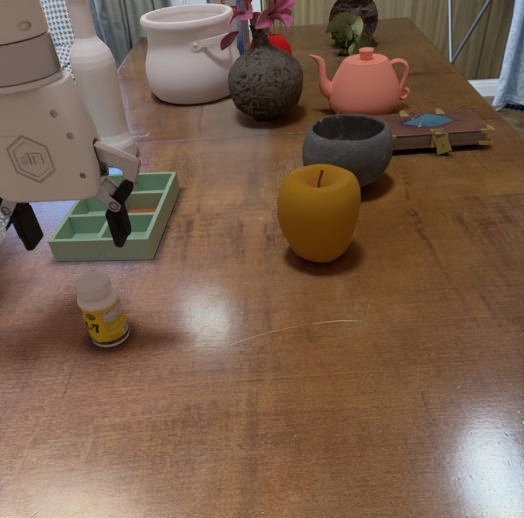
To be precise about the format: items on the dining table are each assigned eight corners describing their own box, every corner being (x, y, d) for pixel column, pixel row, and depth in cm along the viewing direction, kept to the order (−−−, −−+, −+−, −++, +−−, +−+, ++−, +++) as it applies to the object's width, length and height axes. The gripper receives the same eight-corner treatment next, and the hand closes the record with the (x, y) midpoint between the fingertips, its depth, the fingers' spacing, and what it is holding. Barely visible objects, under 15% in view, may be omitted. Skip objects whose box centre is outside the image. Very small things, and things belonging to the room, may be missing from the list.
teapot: (310, 126, 109) (310, 62, 100) (308, 102, 120) (308, 42, 111) (413, 121, 107) (422, 55, 98) (402, 97, 118) (409, 36, 110)
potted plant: (328, 45, 163) (320, 66, 137) (332, -13, 154) (324, -3, 127) (377, 46, 162) (378, 68, 135) (384, -12, 152) (387, -1, 125)
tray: (55, 261, 76) (47, 241, 74) (99, 192, 92) (93, 174, 90) (153, 259, 75) (147, 238, 72) (179, 190, 91) (176, 171, 88)
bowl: (284, 186, 89) (282, 128, 82) (343, 159, 96) (345, 103, 89) (346, 214, 81) (349, 152, 74) (406, 183, 87) (414, 123, 80)
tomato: (282, 82, 132) (280, 37, 125) (241, 78, 138) (238, 34, 131) (302, 70, 139) (301, 27, 132) (263, 66, 144) (260, 24, 137)
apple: (275, 275, 70) (270, 188, 61) (285, 234, 77) (281, 151, 69) (355, 278, 68) (362, 189, 59) (357, 236, 76) (363, 151, 67)
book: (347, 134, 107) (348, 108, 103) (466, 125, 106) (470, 99, 102) (359, 162, 94) (361, 134, 91) (493, 153, 93) (500, 124, 90)
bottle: (126, 147, 107) (82, -27, 86) (145, 158, 102) (103, -24, 82) (91, 159, 104) (37, -19, 83) (110, 171, 99) (57, -16, 78)
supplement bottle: (85, 336, 63) (62, 281, 57) (117, 318, 65) (98, 263, 59) (105, 354, 60) (83, 299, 55) (137, 334, 63) (120, 279, 57)
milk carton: (213, 61, 152) (203, -20, 138) (220, 56, 156) (211, -24, 142) (244, 62, 149) (237, -21, 135) (251, 56, 153) (245, -25, 140)
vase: (306, 128, 108) (304, -49, 88) (225, 134, 109) (205, -40, 88) (301, 102, 120) (299, -59, 100) (228, 107, 121) (211, -51, 100)
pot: (131, 95, 133) (113, 17, 121) (202, 72, 144) (192, -2, 132) (191, 116, 119) (177, 29, 107) (265, 88, 130) (260, 7, 118)
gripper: (-112, 83, 40) (-14, 264, 52) (98, 68, 38) (150, 259, 50) (-62, 58, 45) (16, 227, 57) (124, 43, 44) (165, 221, 55)
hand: (79, 242), depth 53 cm, fingers open, 9 cm apart
